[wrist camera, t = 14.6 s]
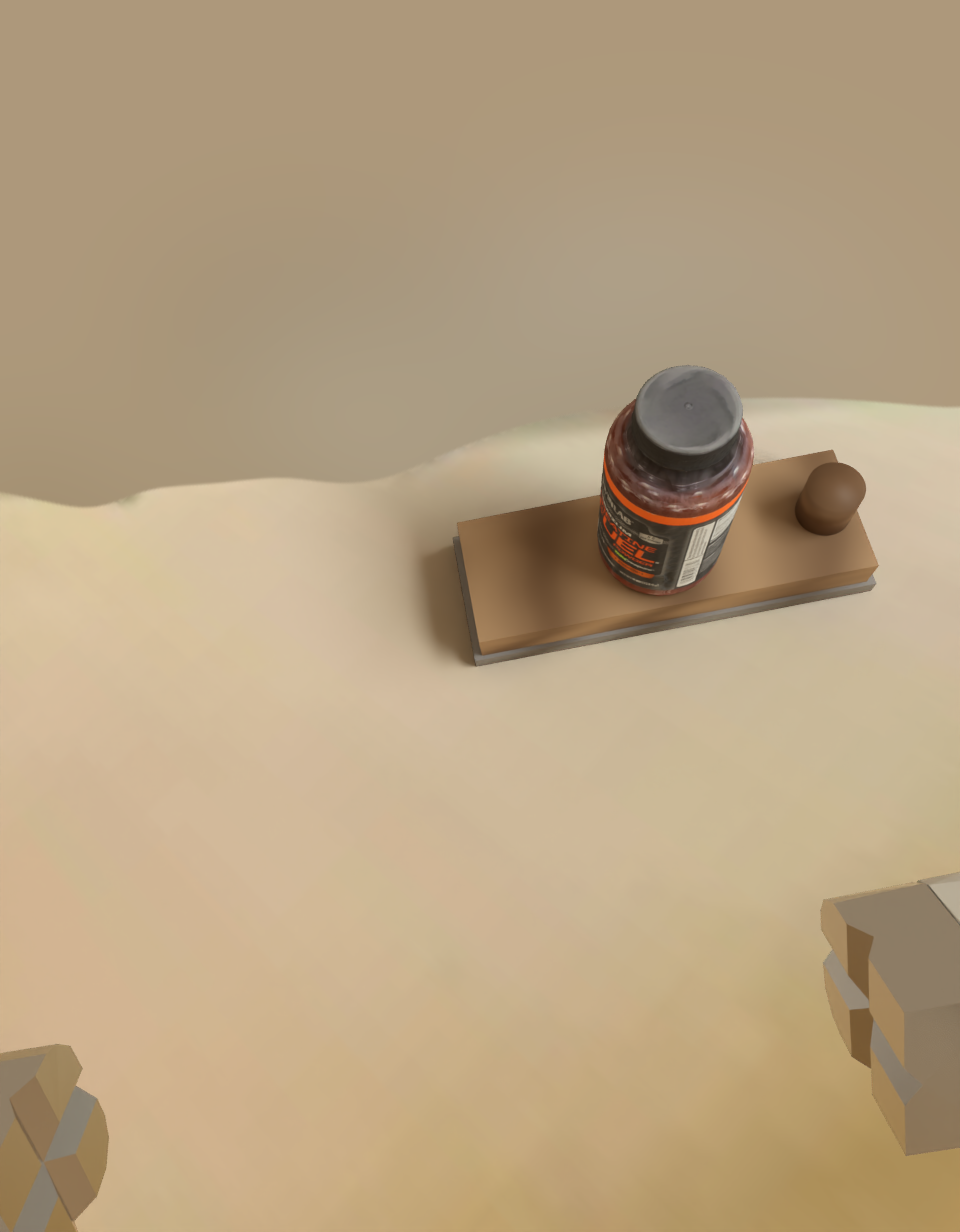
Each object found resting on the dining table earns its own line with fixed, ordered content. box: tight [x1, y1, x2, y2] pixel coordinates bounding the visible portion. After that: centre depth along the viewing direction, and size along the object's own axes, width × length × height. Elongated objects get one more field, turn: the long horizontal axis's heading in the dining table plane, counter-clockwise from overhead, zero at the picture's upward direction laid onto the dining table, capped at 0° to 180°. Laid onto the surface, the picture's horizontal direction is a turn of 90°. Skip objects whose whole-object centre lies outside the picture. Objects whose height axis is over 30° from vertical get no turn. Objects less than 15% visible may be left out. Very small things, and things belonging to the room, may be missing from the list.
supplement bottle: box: [597, 365, 754, 596], centre depth 38 cm, size 6×6×11 cm
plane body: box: [453, 450, 879, 666], centre depth 43 cm, size 20×7×5 cm, turn 100°
